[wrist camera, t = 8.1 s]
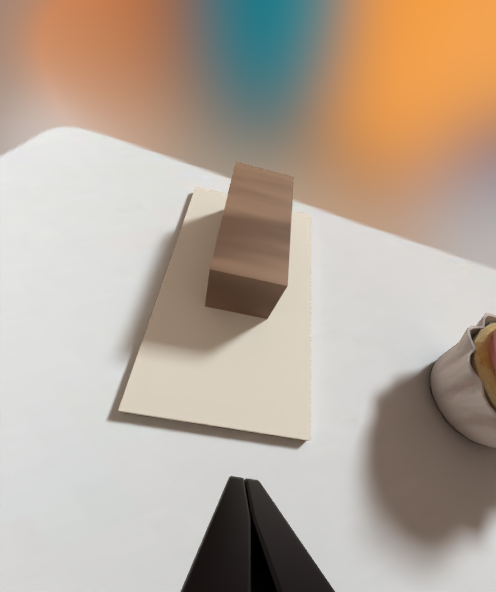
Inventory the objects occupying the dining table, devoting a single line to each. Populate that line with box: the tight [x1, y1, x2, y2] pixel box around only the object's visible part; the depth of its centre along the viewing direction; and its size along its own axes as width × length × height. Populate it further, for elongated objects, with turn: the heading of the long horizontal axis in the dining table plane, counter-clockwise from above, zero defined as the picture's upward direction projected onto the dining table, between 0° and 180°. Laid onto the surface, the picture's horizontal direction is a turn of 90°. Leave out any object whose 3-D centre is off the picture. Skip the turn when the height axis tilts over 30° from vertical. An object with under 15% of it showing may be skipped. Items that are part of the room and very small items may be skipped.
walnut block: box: [205, 162, 294, 319], centre depth 20 cm, size 4×4×10 cm
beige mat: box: [118, 187, 311, 441], centre depth 20 cm, size 19×11×1 cm, turn 174°
